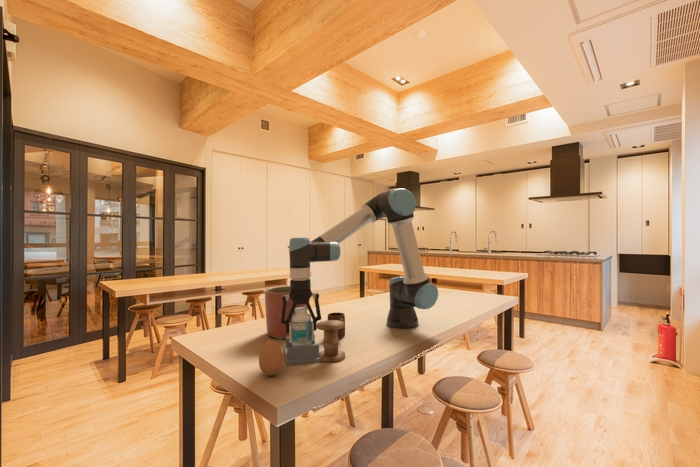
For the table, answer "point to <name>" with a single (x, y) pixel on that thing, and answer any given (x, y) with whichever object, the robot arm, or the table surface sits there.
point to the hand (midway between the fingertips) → (301, 340)
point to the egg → (271, 358)
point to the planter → (277, 311)
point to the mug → (340, 318)
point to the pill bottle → (301, 327)
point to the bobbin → (331, 341)
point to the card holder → (301, 353)
